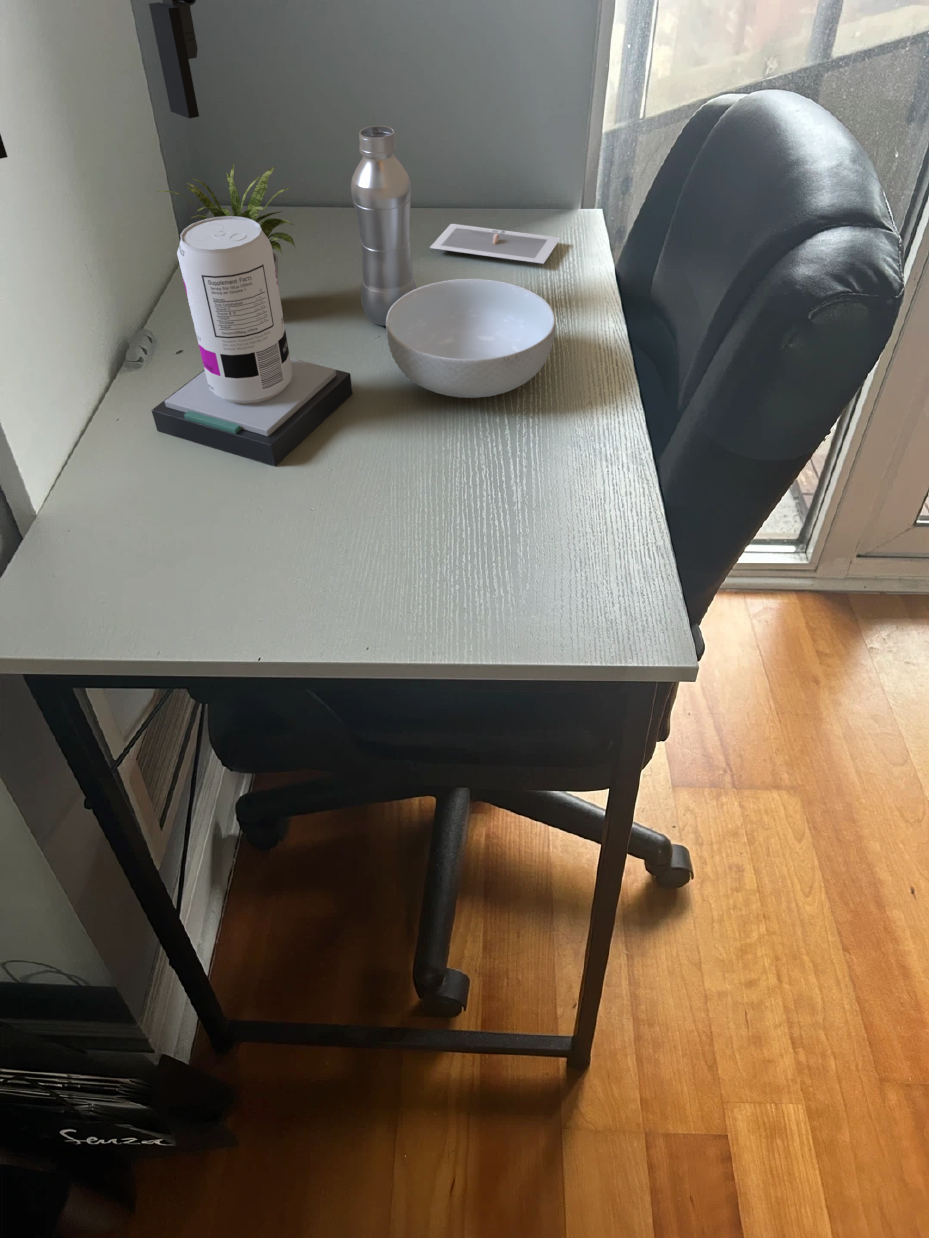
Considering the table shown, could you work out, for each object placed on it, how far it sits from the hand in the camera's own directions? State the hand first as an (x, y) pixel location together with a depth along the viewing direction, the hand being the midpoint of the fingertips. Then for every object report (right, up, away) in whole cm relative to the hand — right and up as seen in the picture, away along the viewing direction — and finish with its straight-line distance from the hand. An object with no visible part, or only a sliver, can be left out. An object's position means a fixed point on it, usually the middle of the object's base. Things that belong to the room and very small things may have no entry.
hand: (94, 134), depth 63 cm
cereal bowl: (+26, -8, +36) cm, 44 cm away
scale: (+4, -12, +32) cm, 34 cm away
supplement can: (+4, -10, +30) cm, 31 cm away
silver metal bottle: (+16, +2, +45) cm, 48 cm away
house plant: (0, +2, +46) cm, 46 cm away
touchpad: (+29, +14, +57) cm, 66 cm away
